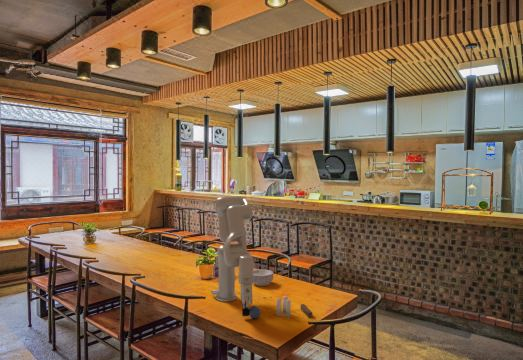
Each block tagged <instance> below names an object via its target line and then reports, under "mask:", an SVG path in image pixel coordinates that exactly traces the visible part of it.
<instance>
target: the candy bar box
mask: <svg viewBox="0 0 523 360" xmlns="http://www.w3.org/2000/svg"><path fill="white" fill-rule="evenodd" d="M214 252H215V254H217V251H214ZM217 255H218V254H217ZM212 277H215V278H216V277H219V262H218V256H217V257H215V264H214V266H213V276H212Z"/></svg>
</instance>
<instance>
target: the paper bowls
mask: <svg viewBox="0 0 523 360" xmlns="http://www.w3.org/2000/svg"><path fill="white" fill-rule="evenodd" d="M272 281H274V271H272V270H271V269H269V270H268V269H256V270H255V269H254V275H253V284H254V285H255V286H261V287H265V286H268V285H270V284H271V282H272Z"/></svg>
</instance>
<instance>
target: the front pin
mask: <svg viewBox="0 0 523 360" xmlns="http://www.w3.org/2000/svg"><path fill="white" fill-rule="evenodd" d="M281 316H282V298H281V297H280V298H276V317H281Z"/></svg>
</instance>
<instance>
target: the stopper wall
mask: <svg viewBox="0 0 523 360" xmlns="http://www.w3.org/2000/svg"><path fill="white" fill-rule="evenodd" d="M300 310H301V311H302V312H303V313H304V314H305V315H306V316H307V318H308V319H309V318H313V312H312V310H311V309H309V307H308V306H307V305H305V303H300Z"/></svg>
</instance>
